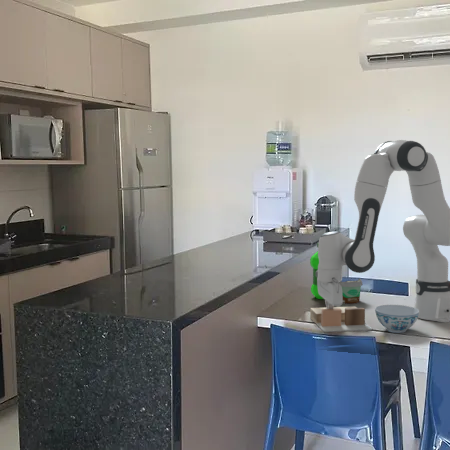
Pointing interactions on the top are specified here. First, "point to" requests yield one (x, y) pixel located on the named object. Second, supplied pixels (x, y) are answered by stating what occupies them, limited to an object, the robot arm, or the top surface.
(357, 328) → the grey mat
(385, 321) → the chinaware
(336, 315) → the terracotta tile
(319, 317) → the birch deck
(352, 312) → the walnut tile
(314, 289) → the plastic bottle
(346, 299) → the food container
